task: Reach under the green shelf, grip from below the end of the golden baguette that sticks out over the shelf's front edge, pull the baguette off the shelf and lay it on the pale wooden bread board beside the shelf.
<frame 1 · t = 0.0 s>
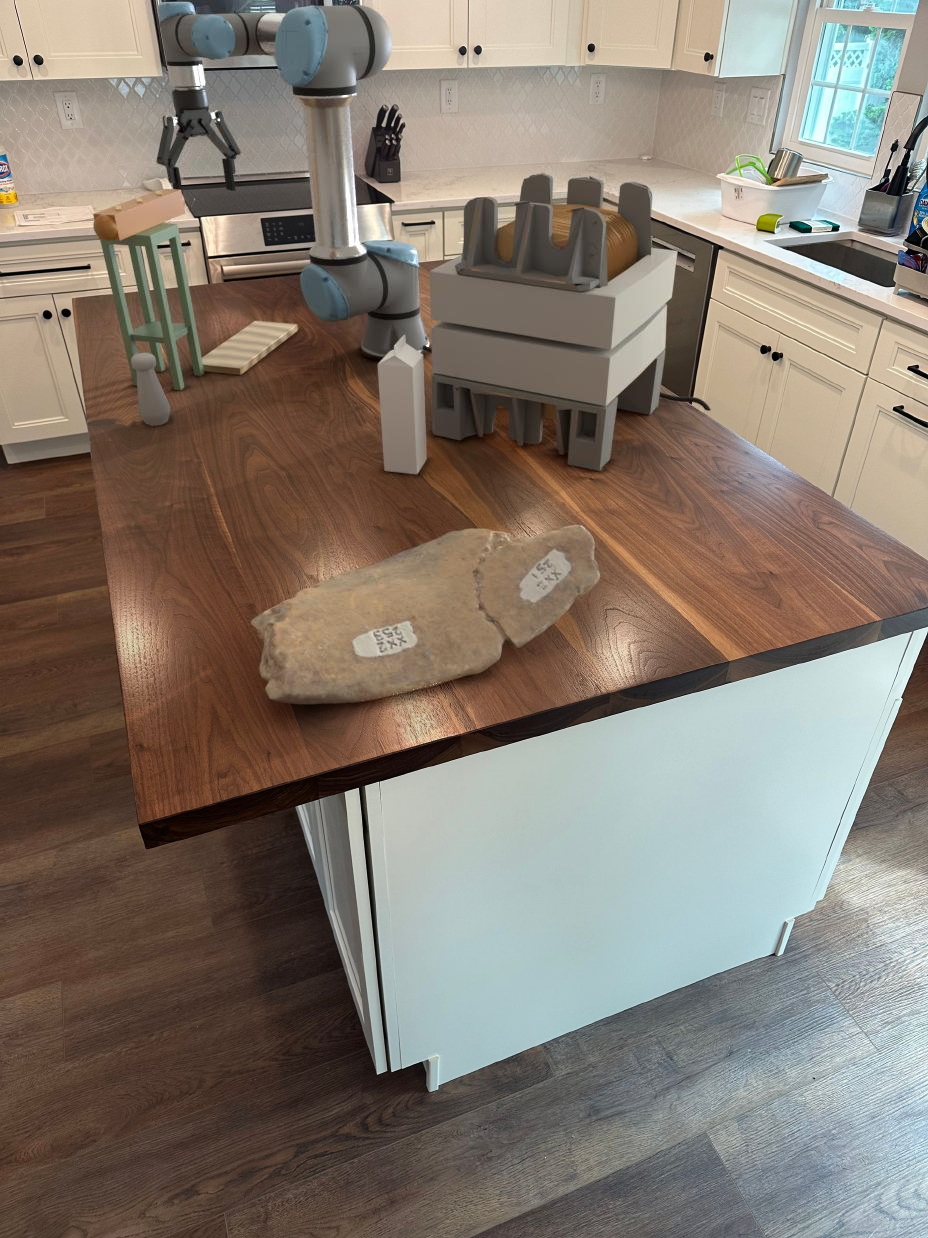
hand: (205, 194, 208), 28 cm above the counter, tool pointing down, fingers open, 13 cm apart
bread board: (248, 349, 204), on the counter
milk: (405, 466, 156), on the counter
transformer: (548, 420, 172), on the counter
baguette: (144, 225, 174), point 30 cm above the counter, touching green shelf
salt shaker: (157, 422, 172), on the counter
green shelf: (169, 379, 190), on the counter
rock: (418, 627, 118), on the counter
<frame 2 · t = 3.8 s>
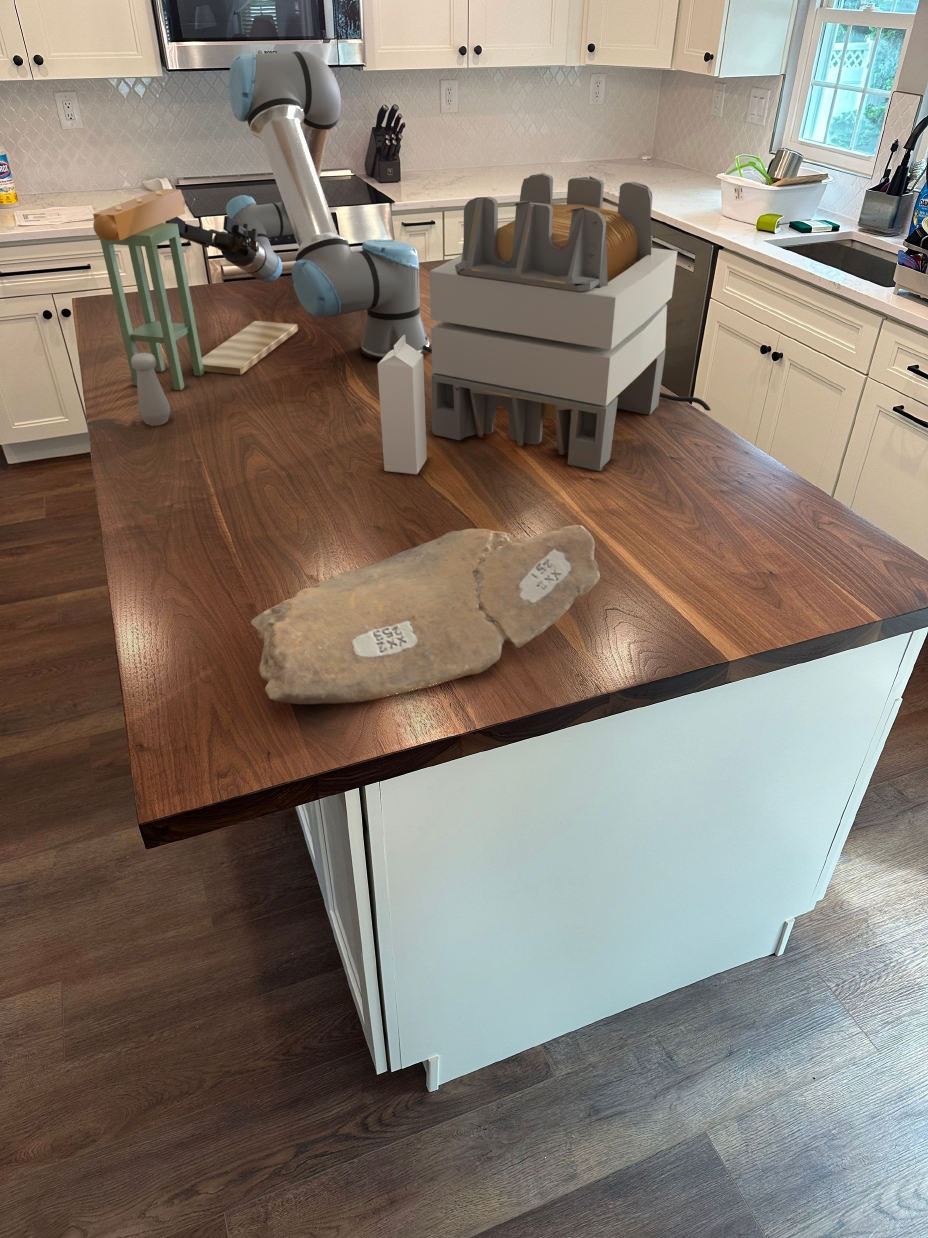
hand: (196, 220, 190), 27 cm above the counter, tool pointing upward, fingers open, 13 cm apart
nothing on the counter moved.
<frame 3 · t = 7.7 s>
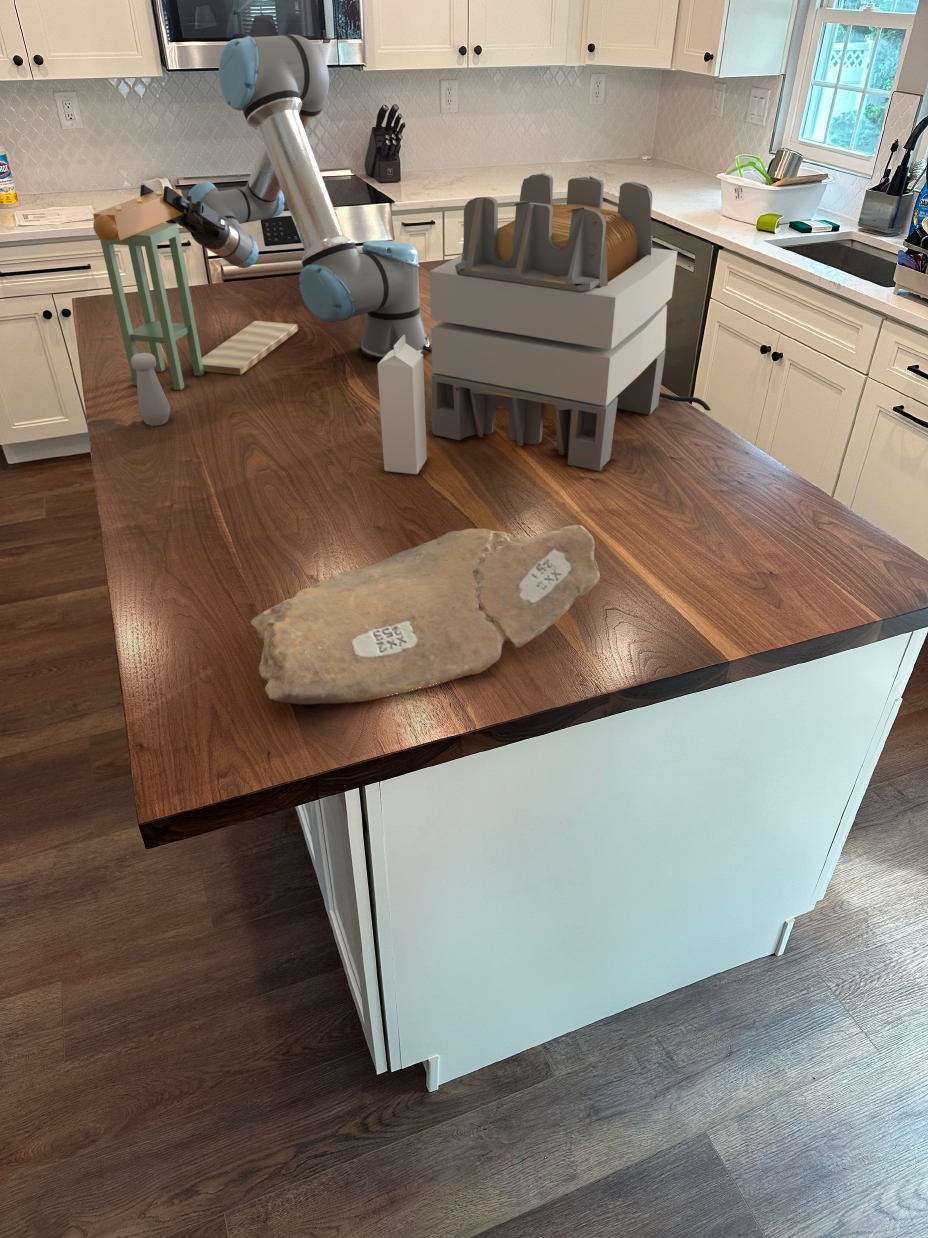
hand: (153, 192, 175), 35 cm above the counter, tool pointing upward, fingers closed on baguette, 4 cm apart
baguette: (144, 225, 174), point 30 cm above the counter, touching green shelf, gripper
everything else where it was.
when the fingers open (22 cm above the counter, at t = 16.1 s): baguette drops 15 cm, resting on bread board.
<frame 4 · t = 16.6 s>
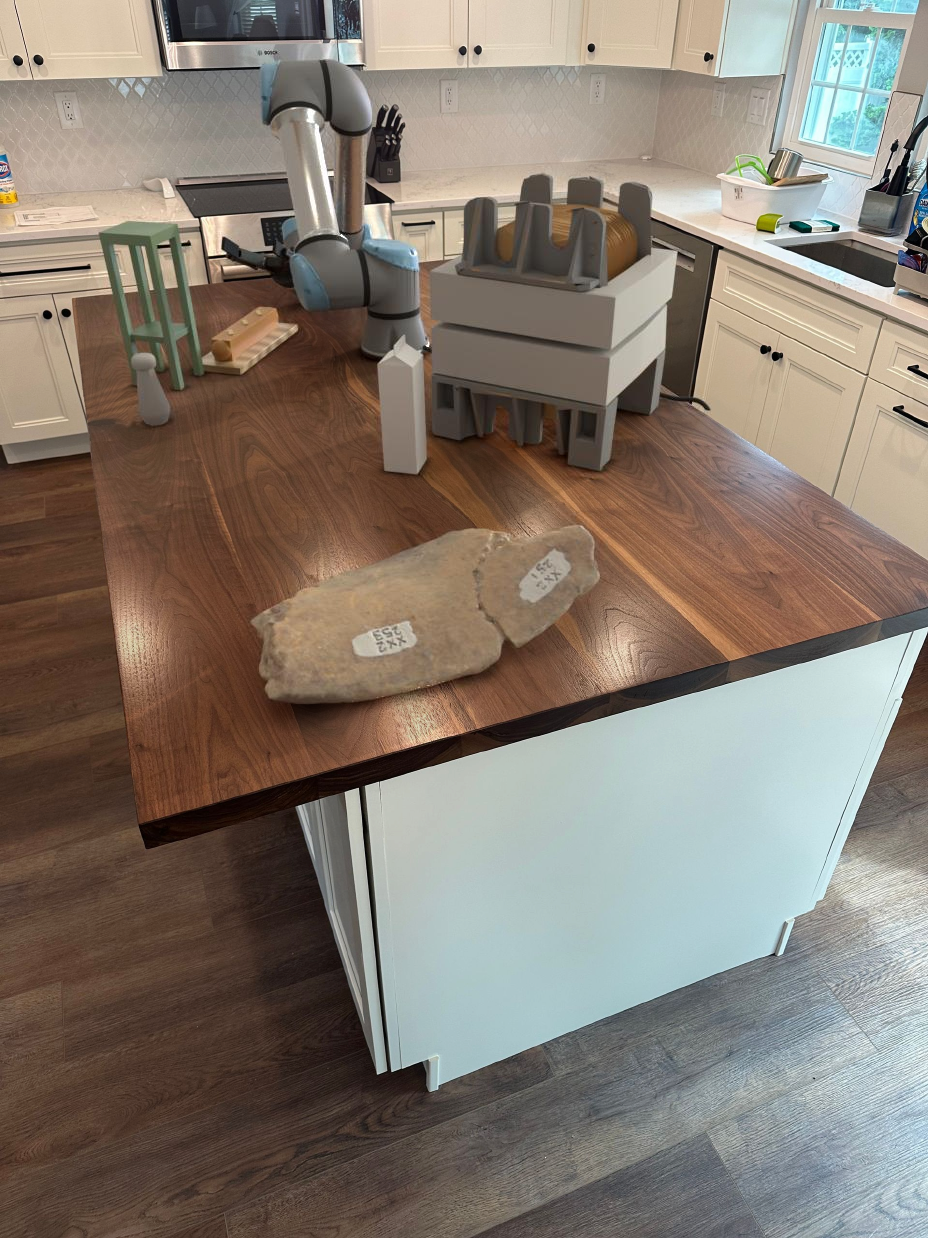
hand: (248, 244, 197), 21 cm above the counter, tool pointing upward, fingers open, 12 cm apart
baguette: (247, 342, 204), point 1 cm above the counter, touching bread board
everything else where it was.
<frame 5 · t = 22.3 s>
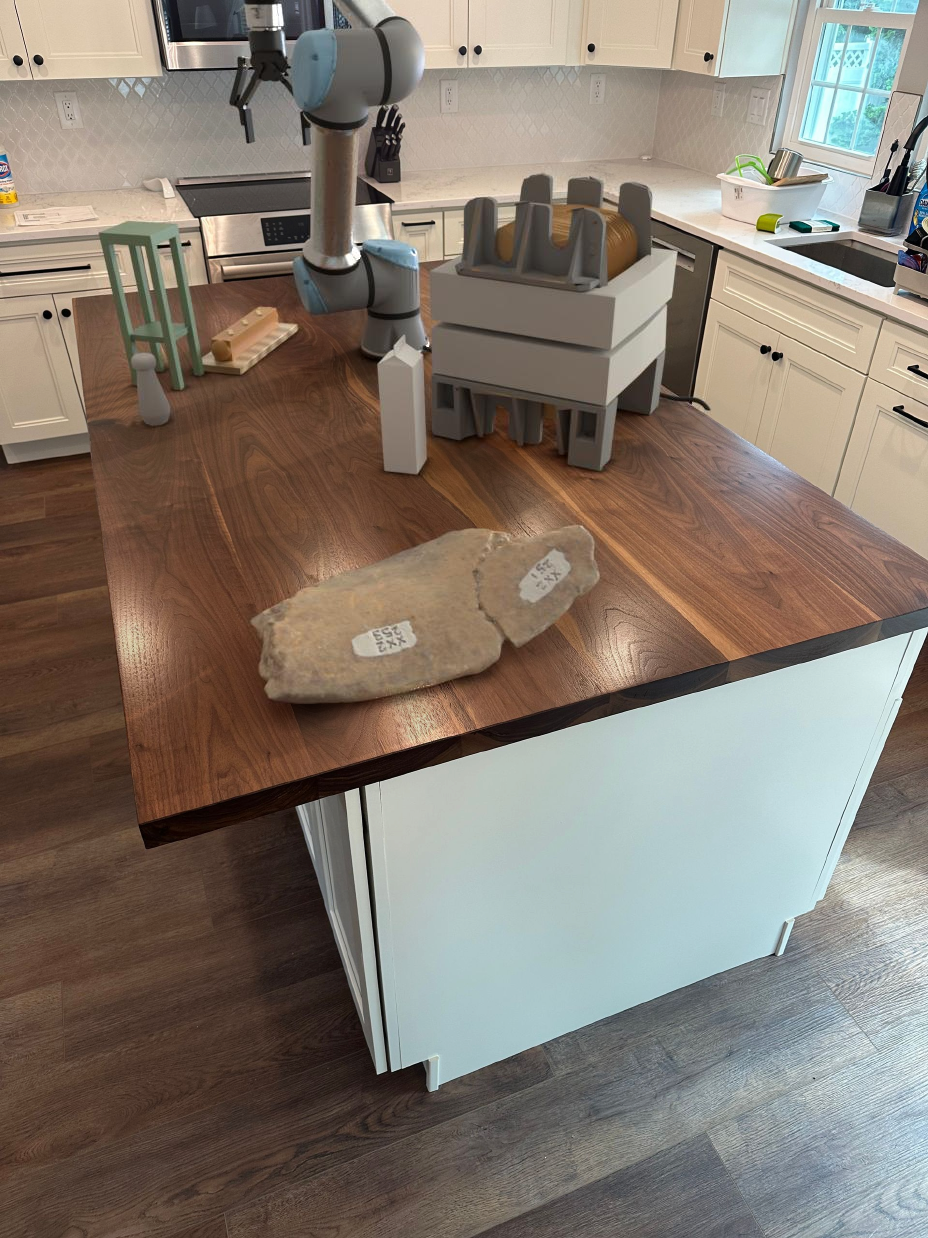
hand: (278, 143, 199), 39 cm above the counter, tool pointing down, fingers open, 13 cm apart
nothing on the counter moved.
at the end: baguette inside the target area on the bread board (0.4 cm from its centre), point 1.5 cm above the bread board's base; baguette touching bread board; the gripper is holding nothing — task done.
